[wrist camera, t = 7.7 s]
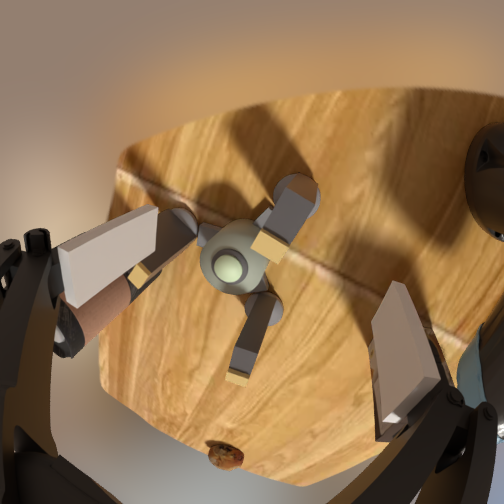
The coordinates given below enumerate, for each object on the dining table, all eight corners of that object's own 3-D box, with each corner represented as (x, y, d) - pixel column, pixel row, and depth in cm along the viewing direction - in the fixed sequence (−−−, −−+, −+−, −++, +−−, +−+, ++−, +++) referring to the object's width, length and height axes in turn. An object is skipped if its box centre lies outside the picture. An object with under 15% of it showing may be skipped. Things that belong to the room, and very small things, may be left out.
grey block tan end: (250, 286, 36) (219, 345, 25) (288, 298, 35) (270, 362, 24) (242, 315, 38) (213, 375, 27) (277, 327, 37) (257, 391, 27)
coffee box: (365, 349, 36) (370, 442, 21) (384, 316, 33) (403, 412, 19) (415, 359, 34) (432, 444, 20) (435, 328, 31) (466, 414, 17)
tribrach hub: (271, 189, 31) (258, 202, 24) (310, 271, 33) (305, 301, 27) (192, 227, 35) (166, 246, 29) (232, 297, 38) (214, 326, 32)
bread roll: (213, 438, 65) (202, 459, 60) (217, 441, 57) (204, 465, 52) (243, 450, 64) (233, 471, 59) (251, 454, 56) (239, 478, 51)
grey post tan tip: (158, 226, 36) (100, 260, 25) (177, 199, 34) (117, 228, 23) (184, 252, 36) (133, 296, 26) (205, 227, 34) (154, 267, 24)
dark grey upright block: (288, 165, 29) (267, 177, 18) (329, 189, 29) (332, 217, 18) (266, 203, 31) (234, 238, 20) (305, 227, 31) (293, 274, 20)
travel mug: (129, 225, 38) (23, 288, 20) (169, 248, 37) (67, 330, 19) (122, 266, 41) (34, 334, 23) (160, 288, 41) (76, 372, 23)
